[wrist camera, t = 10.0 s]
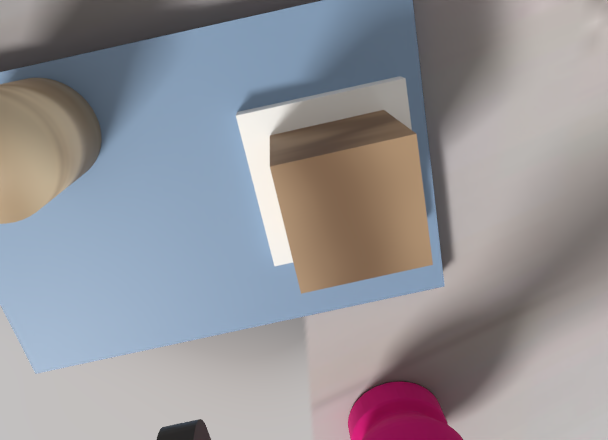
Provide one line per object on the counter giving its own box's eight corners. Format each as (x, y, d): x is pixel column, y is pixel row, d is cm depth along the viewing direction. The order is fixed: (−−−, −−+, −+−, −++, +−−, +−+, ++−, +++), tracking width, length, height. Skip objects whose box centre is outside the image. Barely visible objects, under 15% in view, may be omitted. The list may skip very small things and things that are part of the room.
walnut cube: (383, 109, 23) (416, 133, 18) (399, 216, 25) (432, 264, 20) (269, 135, 23) (269, 166, 18) (294, 239, 25) (301, 293, 20)
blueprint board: (403, -17, 23) (416, -22, 21) (437, 276, 29) (450, 295, 27) (-90, 92, 24) (-124, 99, 21) (44, 360, 29) (27, 385, 27)
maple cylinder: (78, 67, 22) (22, 79, 17) (116, 170, 24) (75, 208, 19) (-28, 90, 23) (-114, 109, 17) (18, 191, 24) (-48, 235, 19)
